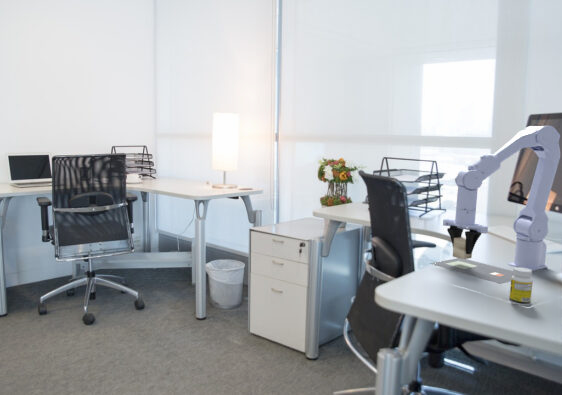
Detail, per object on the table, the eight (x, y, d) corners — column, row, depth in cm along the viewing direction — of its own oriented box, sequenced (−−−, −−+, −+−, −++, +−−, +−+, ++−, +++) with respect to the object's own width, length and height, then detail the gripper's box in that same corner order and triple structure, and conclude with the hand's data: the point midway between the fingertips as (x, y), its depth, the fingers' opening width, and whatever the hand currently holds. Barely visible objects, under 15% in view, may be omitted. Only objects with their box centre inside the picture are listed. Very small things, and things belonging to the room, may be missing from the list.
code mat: (460, 258, 163) (460, 257, 163) (531, 276, 143) (531, 275, 143) (429, 264, 154) (429, 263, 154) (500, 284, 134) (500, 283, 134)
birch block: (460, 255, 156) (461, 236, 155) (471, 258, 153) (473, 239, 152) (452, 256, 154) (454, 237, 153) (463, 259, 150) (465, 240, 150)
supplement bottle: (512, 298, 123) (515, 265, 122) (532, 302, 120) (536, 269, 119) (506, 302, 119) (509, 269, 118) (527, 307, 116) (531, 273, 115)
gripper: (438, 206, 155) (435, 248, 157) (479, 213, 143) (475, 258, 145) (452, 205, 159) (448, 246, 161) (493, 211, 147) (489, 255, 149)
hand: (462, 252), depth 153 cm, fingers closed on birch block, 4 cm apart
